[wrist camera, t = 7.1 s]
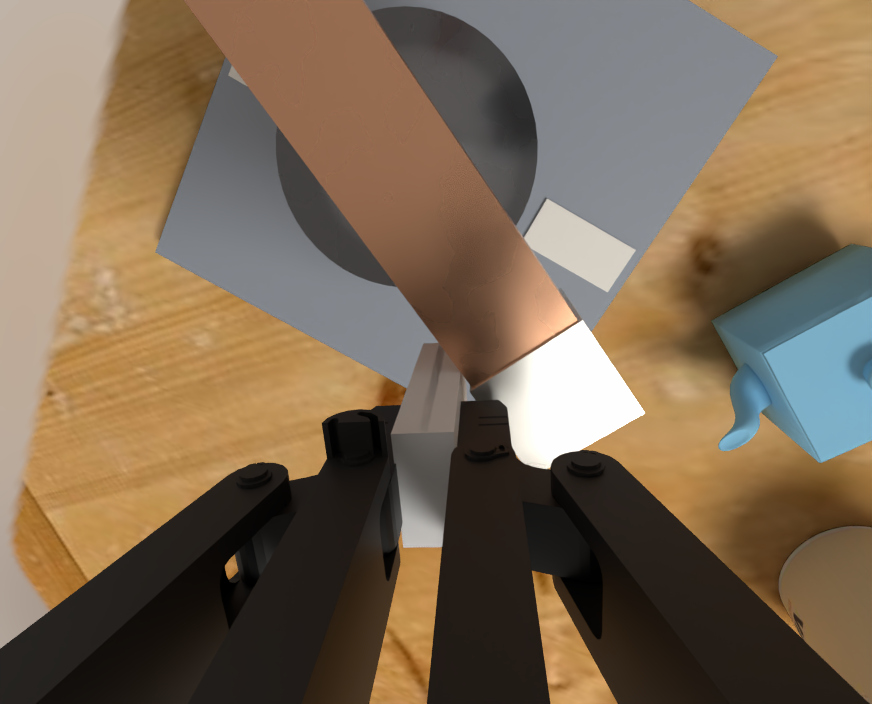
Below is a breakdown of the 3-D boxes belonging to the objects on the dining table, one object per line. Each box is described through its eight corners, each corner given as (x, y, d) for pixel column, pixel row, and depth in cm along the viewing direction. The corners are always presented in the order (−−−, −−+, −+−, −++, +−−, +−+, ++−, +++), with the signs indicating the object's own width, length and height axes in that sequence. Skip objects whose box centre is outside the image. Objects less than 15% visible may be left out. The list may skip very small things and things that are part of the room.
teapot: (696, 434, 31) (758, 511, 24) (645, 348, 30) (695, 402, 23) (916, 325, 28) (1061, 375, 21) (870, 224, 27) (1007, 241, 20)
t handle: (166, 8, 19) (-16, -87, 12) (345, -175, 17) (248, -413, 10) (471, 412, 22) (463, 516, 15) (648, 302, 20) (728, 365, 13)
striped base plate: (336, -202, 24) (258, -397, 16) (761, 63, 25) (890, 10, 17) (170, 248, 30) (56, 274, 22) (512, 434, 32) (521, 521, 24)
